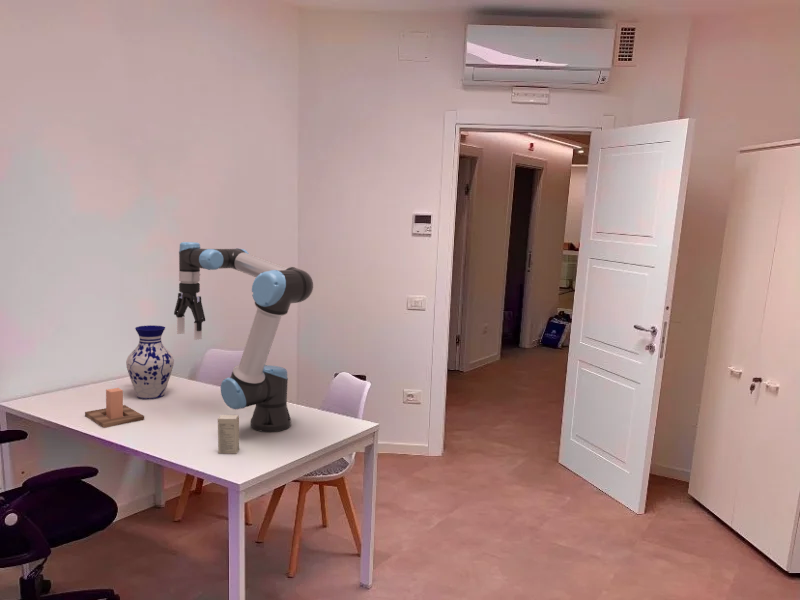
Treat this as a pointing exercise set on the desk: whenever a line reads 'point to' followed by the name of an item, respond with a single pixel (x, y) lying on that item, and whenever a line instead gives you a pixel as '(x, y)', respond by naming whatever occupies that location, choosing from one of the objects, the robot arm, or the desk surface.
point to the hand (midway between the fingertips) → (189, 336)
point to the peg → (114, 403)
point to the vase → (150, 363)
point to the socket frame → (104, 421)
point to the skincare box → (228, 434)
